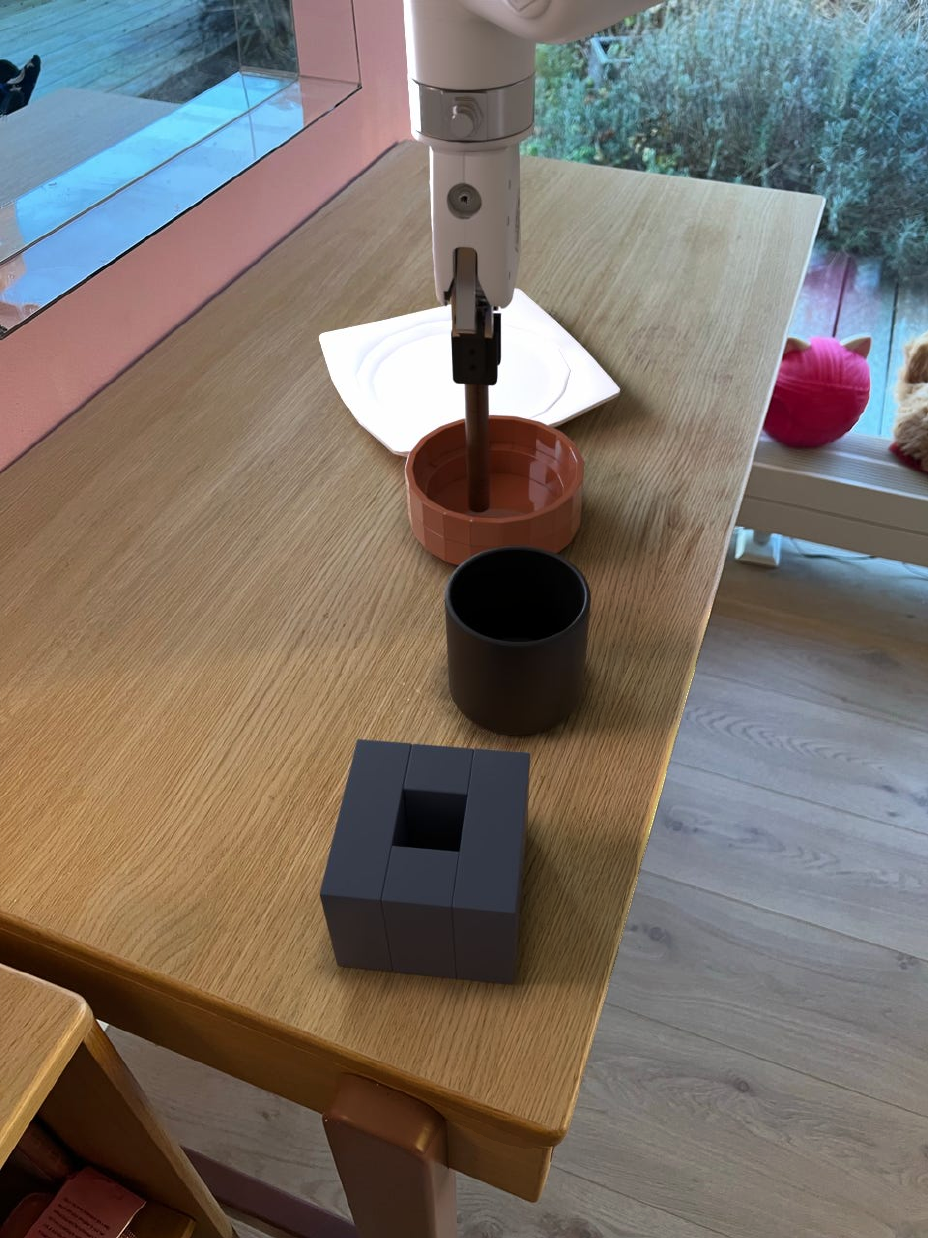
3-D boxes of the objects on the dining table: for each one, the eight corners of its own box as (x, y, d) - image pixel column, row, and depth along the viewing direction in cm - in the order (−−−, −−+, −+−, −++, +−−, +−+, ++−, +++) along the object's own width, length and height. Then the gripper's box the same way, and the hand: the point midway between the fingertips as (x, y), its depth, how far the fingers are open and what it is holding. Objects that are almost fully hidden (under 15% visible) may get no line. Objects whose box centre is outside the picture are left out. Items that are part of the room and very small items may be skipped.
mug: (597, 623, 75) (606, 530, 68) (571, 749, 67) (578, 657, 60) (474, 604, 77) (472, 512, 70) (434, 724, 68) (427, 633, 62)
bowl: (583, 471, 88) (586, 418, 84) (576, 581, 78) (580, 527, 74) (423, 463, 89) (419, 411, 86) (397, 570, 80) (391, 516, 76)
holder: (527, 830, 62) (530, 752, 57) (514, 985, 55) (515, 913, 50) (369, 816, 63) (356, 738, 58) (336, 966, 56) (318, 894, 51)
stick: (491, 499, 82) (489, 295, 70) (488, 513, 81) (486, 308, 68) (469, 498, 83) (463, 295, 70) (466, 512, 81) (460, 307, 69)
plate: (522, 303, 109) (522, 280, 107) (636, 419, 93) (639, 394, 91) (307, 354, 103) (303, 331, 101) (390, 488, 87) (388, 463, 85)
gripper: (524, 155, 54) (519, 438, 67) (543, 61, 65) (536, 320, 78) (387, 152, 55) (409, 433, 68) (429, 60, 66) (441, 317, 79)
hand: (477, 371), depth 73 cm, fingers closed on stick, 1 cm apart
